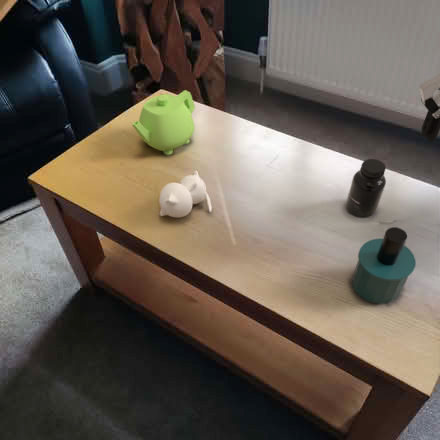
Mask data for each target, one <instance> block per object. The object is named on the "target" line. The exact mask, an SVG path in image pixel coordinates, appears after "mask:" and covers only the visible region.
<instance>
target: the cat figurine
mask: <svg viewBox="0 0 440 440" xmlns="http://www.w3.org/2000/svg"><path fill="white" fill-rule="evenodd" d="M204 200H206V205H207V208H208V209H207V210H208V212H209V213H210V214H211V213H212V210H213V209H212V202H211V198H210V196H209V194H208V192H207V187H206V183H205V181H204V180H203V179H202V178H200V175H199V172H198V171H197V170H194V171H193V174H188V175H186V176H184V177H183V178H182V179H181V181H180V182H169V183H167V184H165V186H163V188H162V189H161V191H160V193H159V201H158V202H159V206H160V211H159V216H160V217H164V216H169V217H171V218H177V219H178V218H185V217H186V216H187V215H189V214H190V213H191V211H192V209H193V205H197V204H200V203H202V202H203V201H204Z"/></svg>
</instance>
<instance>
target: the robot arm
mask: <svg viewBox="0 0 440 440" xmlns="http://www.w3.org/2000/svg"><path fill="white" fill-rule="evenodd" d="M437 90H438V92H437V93H436V94H435V95H434V93H435V92H436V91H437ZM419 94H420V95H419V96H420V101H421V103H422V104H423V106H424V107H425V108H426V110H427V112H426V115H425V118H424V120H423V123H422V126H421V133H422V135H423V136H424V137H425V138H426V140H427V142H429V143H434V142H435V141H436V140H437V138H438V136H439V132H440V105H439V104H440V73H438V74H436V75H435V76H433V77H431V78H429V79H427V80H426V81H424V82H422V83H420V85H419Z"/></svg>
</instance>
